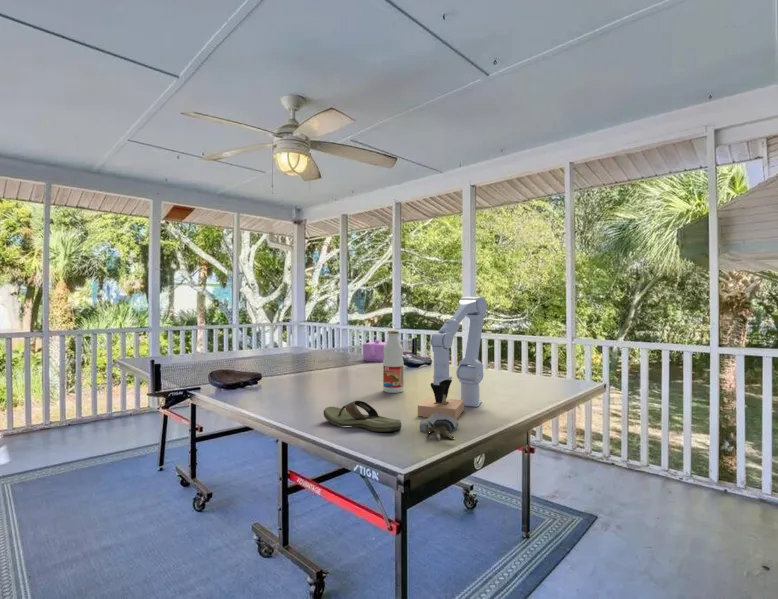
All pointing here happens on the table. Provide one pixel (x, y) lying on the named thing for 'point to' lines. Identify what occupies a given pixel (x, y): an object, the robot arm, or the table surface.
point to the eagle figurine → (440, 428)
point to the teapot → (374, 351)
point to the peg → (443, 400)
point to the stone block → (437, 417)
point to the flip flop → (360, 417)
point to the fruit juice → (393, 364)
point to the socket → (441, 407)
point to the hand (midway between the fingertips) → (441, 400)
